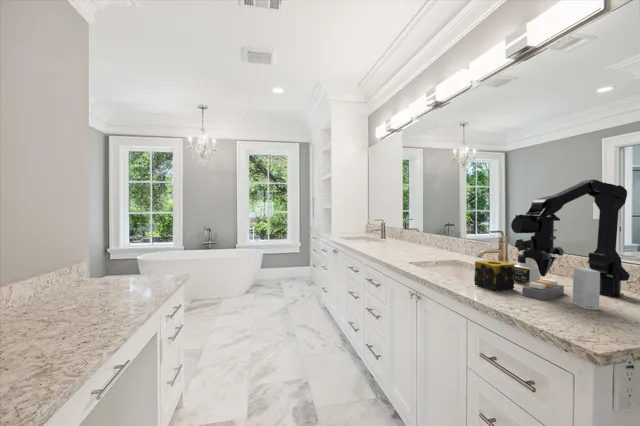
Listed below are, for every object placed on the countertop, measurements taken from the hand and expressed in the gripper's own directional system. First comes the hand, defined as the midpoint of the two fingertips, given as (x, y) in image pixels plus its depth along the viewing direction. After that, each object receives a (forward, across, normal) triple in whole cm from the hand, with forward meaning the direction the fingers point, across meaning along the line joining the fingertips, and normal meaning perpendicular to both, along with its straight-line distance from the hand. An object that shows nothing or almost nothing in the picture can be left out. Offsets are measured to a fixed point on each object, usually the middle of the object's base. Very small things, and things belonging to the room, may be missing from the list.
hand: (543, 276), depth 108 cm
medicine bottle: (+7, -14, -11) cm, 19 cm away
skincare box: (+7, +3, +13) cm, 15 cm away
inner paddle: (+4, -6, 0) cm, 7 cm away
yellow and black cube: (+7, +4, -15) cm, 17 cm away
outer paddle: (+4, +4, 0) cm, 6 cm away
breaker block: (+7, -1, 0) cm, 7 cm away
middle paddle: (+4, -1, 0) cm, 4 cm away
